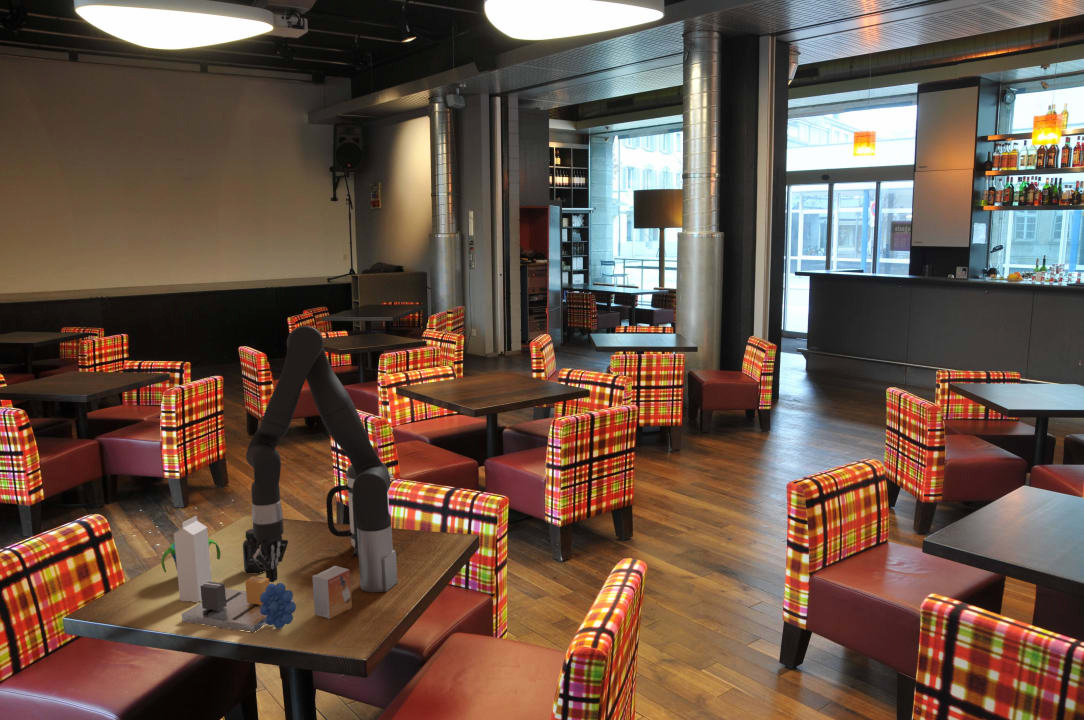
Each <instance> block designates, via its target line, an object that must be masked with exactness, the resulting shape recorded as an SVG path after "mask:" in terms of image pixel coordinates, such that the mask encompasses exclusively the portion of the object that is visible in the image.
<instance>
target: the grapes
mask: <svg viewBox="0 0 1084 720" xmlns="http://www.w3.org/2000/svg"><path fill="white" fill-rule="evenodd" d="M292 598H294V593H293V591H292V590H289V589H286V585H285V584H284V583H283V582H279V583H276V584H274V583H269V585H268V586H267V587H266V592H263V593H262V594H261V596H260V601H261V603H263V605H262V606H261V608H260V613H261V614H262V615H265V616H266V615H267V616H266V619H265V622H266V623H267V625H268V626H272V625H273V626H274V628H275V629H279V630H281V629H283V628H284V626H285V625H289V624H291V623H292V622H293V619H294V616H293V614H294V613H295V612H296V609H297V605H296V603H295V601H294V602H291V600H292Z"/></svg>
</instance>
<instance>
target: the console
mask: <svg viewBox="0 0 1084 720" xmlns="http://www.w3.org/2000/svg"><path fill="white" fill-rule="evenodd" d="M225 594H226V605H227V606H226V607H224V608H222V609H221V610H219V611H216V610H209V609H203V608H202V601H201V602H199V604H196V605H195V606H193V607H191V608H189V609H188V610H186V611H185V612H183V613H181V622H182V623H188V622H189V624H194V623H197V624H196V625H200V624H205V625H204V626H206V625H210V626H209V627H213V626H216V627H215V628H219V627H222V628H221V629H225V628H230V629H229V630H231V629H236V630H235V631H238V630H244V631H250V632H255V631H257V630H258V629H260V628H261V627H262V626H263V625H265V624H267V623H266V622H265V619H266V616H267V615H266V616H265V615H262V614H261V613H260V608H261V606H262V605H259V604H252V603H247V595H246V590H238V589H232V588H231V589H230V588H225ZM291 602H294V603H295V599H294V597H293V598H292V600H291ZM267 625H268V624H267ZM265 626H266V625H265ZM261 629H262V628H261ZM261 629H260V630H261ZM244 631H243V632H244ZM258 631H259V630H258ZM258 631H257V632H258ZM250 632H249V633H250Z"/></svg>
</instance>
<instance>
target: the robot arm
mask: <svg viewBox="0 0 1084 720" xmlns="http://www.w3.org/2000/svg"><path fill="white" fill-rule="evenodd" d="M324 345H325V344H324V337H323V335H322V334H321V332H320V331H319V330H318V329H317V328H315V327H313V326H309V325H301V326H298V327H295V328H294V329H293V330H292V331H290V333H289V335H288V336H287V339H286V348H287V350H286V355H285V360H284V364H283V367H282V371H281V373H280V377H279V379H278V380H277V383H276V385H275V387H274V390H273V392H272V394H271V397H270V399H269V401H268V403H267V406H266V408H265V410H264V412H263V413H264V414H263V417H262V419H261V423H260V425H259V426H258V428H257V430H256V431H255V433H254V434H253V437H251V440H250V442H249V444H248V447H247V449H246V456H245V459H246V462H247V463H248V465H249V466H251V468H253V476H254V477H253V480H254V481H253V482H252V484H251V490H250V492H251V503H252V504H251V517H252V529H253V533H254V537H255V538H256V539H257V546H256V548H257V551H256V553H255V554H252V555H251V559H252V560H253V561H254V562H255V563H256V564H257V566H258V567H259V568H262V569H266V571H265V578H269V583H274V582H275V581H277V580H278V566H279V563H281V562H282V561H283V558H284V556H285V554H286V549H287V548H288V547H287V546H288V544H289V540H288V539H285V538H284V539H283V536H282V535H283V534H284V519H283V517H284V516H283V507H282V502H281V492H280V491H281V490H280V479H281V471H282V469H281V468H282V460H281V456H280V453H279V451H278V450H277V449H276V447H277V445H278V443H279V441H280V439H281V438H283V437H285V436H286V435H287V433H288V431H289V427H290V425H291V422H292V420H293V417H294V414H295V411H296V408H297V405H298V402H299V399H300V396H301V393H302V390H303V387H304V384H305V382H307V385H308V387H309V391H310V393H311V396H312V398H313V402H314V405H315V407H316V410H317V412H318V414H319V416H320V419H321V420H322V421H321V422H322V423H323V425H324V427H325V429H326V430H327V433H328V434H329V436H330V437H331V438H332V440H333V441H334V442H335V443H336V444H337V445H338V446H339V447H340V448H341V450H342V451H343V452H344V454H345V455H346V456H347V458H348V460H349V461H350V465H351V464H352V467H353V469H354V472H355V475H356V479H355V481H354V483H353V505H354V516H355V520H356V522H357V537H358V550H357V551H358V554H359V556H358V569H359V582H360V583H359V584H360V585H359V586H360V589H361V590H362V591H364V592H367V593H379V592H380V593H381V592H388V591H389V590H390V589H392V588H393V587H394V586H395V585H397V584H398V570H397V569H398V567H397V551H396V550H395V549H393V530H392V516H391V514H390V509H389V510H388V498H389V494H388V495H387V492H388V493H389V490H390V489H391V484H392V482H391V478H390V476H389V473H388V472H387V470H386V468H385V467H384V465H383V463H384V462H382V461H381V459H380V457H379V456H378V455H379V454H377V452H376V451H375V449H374V446H373V444H372V442H371V440H370V438H369V436H368V433H367V430H366V429H365V426H364V424H363V421H362V420H361V419H362V418H361V416H360V414H359V413H358V410H357V408H356V406H355V404H354V401H353V400H352V397H351V396H350V395H349V393H348V391H347V390H346V387H345V386H344V385H343V383H342V381H341V380H340V379H339V377H338V376H337V375H336V374H335V372H334V370H333V368H332V366H331V363H330V361H329V359H328V356H327V354H326V350H325V347H324Z"/></svg>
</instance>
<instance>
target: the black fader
mask: <svg viewBox="0 0 1084 720" xmlns="http://www.w3.org/2000/svg"><path fill="white" fill-rule="evenodd" d="M225 585H226V584H225V583H223V582H215V581H212V582H207V583H205V584H203V585H202V586H200V587H201V598H202V601H201V602H202V608H203V609H209V610H216V611H219V610H221V609H222V608H224V607H226V606H227V605H226V594H225V589H226V586H225Z"/></svg>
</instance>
